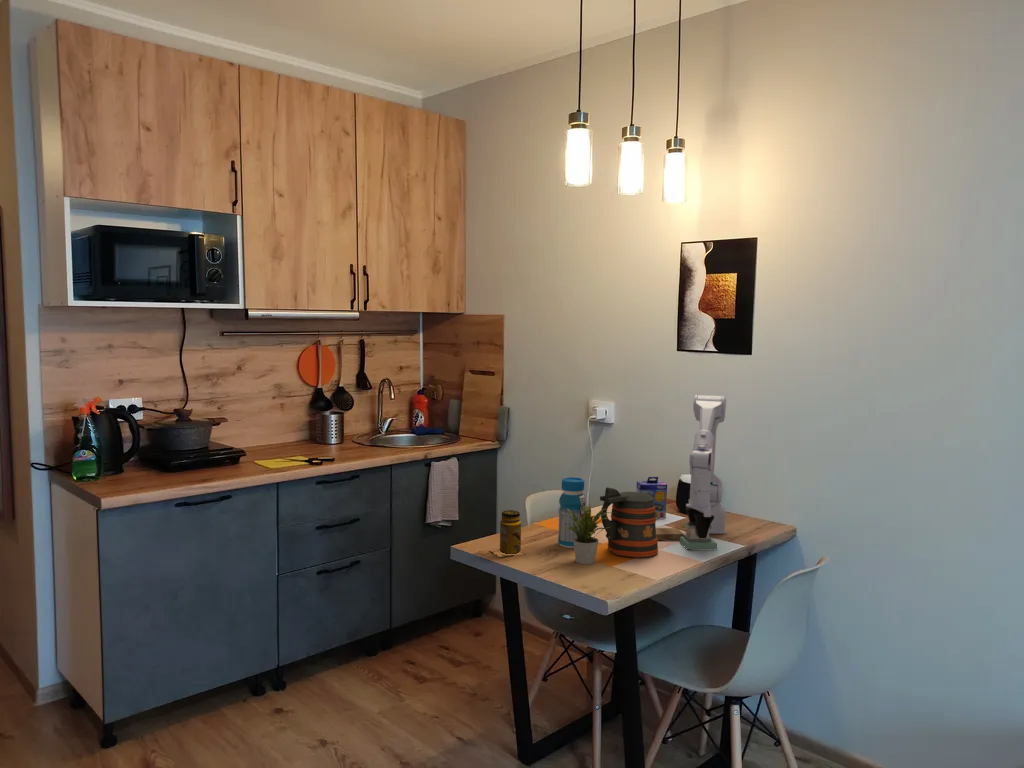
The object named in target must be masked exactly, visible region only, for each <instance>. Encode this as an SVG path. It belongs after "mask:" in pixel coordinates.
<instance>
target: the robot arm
mask: <svg viewBox="0 0 1024 768" xmlns="http://www.w3.org/2000/svg"><path fill="white" fill-rule="evenodd" d="M726 398H727V397H726V396H725V395H709V394H708V395H707V394H695V395H694V397H693V407H692V408H693V413H694V417H695V420H696V421H697V422H699V430H698V431H696V433H695V435H694V440H693V446H692V451H690V452H689V462H688V464H689V474H690V487H689V488H690V489H689V498H688V503H685V508H684V509H685V512H686V514H687V517H688V522H697V529H698V536H699V538H706V537H707V534H708V530H709V535H712V534H726V530H725V529H726V509H725V506H724V504H723V503H722V501H723V481H722V479H721V478H720V477H719V475H717V474H716V473H715V463H716V462H715V461H716V444H717V430H718V427H719V425H720V423H723V422H725V419H726V410H727V399H726ZM710 525H712V529H709V527H710Z"/></svg>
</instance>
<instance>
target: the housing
mask: <svg viewBox="0 0 1024 768" xmlns="http://www.w3.org/2000/svg"><path fill="white" fill-rule="evenodd" d="M683 526H684V527H685V534H684V539H685V540H686V541H687V542H711V539H712V538H711V536H710V534H709V530H708V534H707V537H706V538H699V536H698V529H697V522H690V521H683ZM709 529H712V525H710V527H709Z"/></svg>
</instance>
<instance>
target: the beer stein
mask: <svg viewBox="0 0 1024 768" xmlns="http://www.w3.org/2000/svg"><path fill="white" fill-rule="evenodd" d="M653 500H654V499H653V497H651V495H650V492H648V493H640V492H636V491H621V492H619V491H618V490H617V489H616V488H612V487H605V490H604V495H600V496H599V501H601V502H603V504H602V507H601V510H603V509H605V508H607V509H605V510H604V511H603V512H604V513H606V512H608V508H609V507H610V505H612V506H611V507H612V508H611V512H614V513H610V519H609V518H608V513H607V514H604V513H602V514H604V515H602V514H601V515H602V516H601V515H600V516H601V517H600V520H601V519H602V520H601V524H602V526H603V528H605V529H606V530H605V529H604V530H605V532H606V534H605V537H606V539H607V542H608V543H607V551H609V553H612V554H614V555H617V556H619V557H625V558H629V559H631V558H633V559H639V558H642V559H643V558H650V557H654V556H656V555H657V554H658V552H659V550H658V549H659V547H658V543H659V541H658V540H657V536H656V528H657V527H656V523H657V519H656V512H655V505H654V501H653ZM601 510H600V511H601ZM603 518H608V519H603ZM607 527H609V528H607ZM607 530H608V531H609V532H608V531H607Z"/></svg>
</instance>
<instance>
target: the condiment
mask: <svg viewBox="0 0 1024 768" xmlns="http://www.w3.org/2000/svg"><path fill="white" fill-rule="evenodd" d="M500 518H501V520H500V525H499V549H500V551H501V552H502V553H505V554H517V553H519V552H520V551H521V550H522V549H521V548H522V546H521V545H522V541H521V540H522V539H521V538H522V537H521V536H522V534H521V533H522V521H521V513H520V512H519V511H518V510H513V509H510V510H509V509H506V510H503V511H502V512H501V517H500Z"/></svg>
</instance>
